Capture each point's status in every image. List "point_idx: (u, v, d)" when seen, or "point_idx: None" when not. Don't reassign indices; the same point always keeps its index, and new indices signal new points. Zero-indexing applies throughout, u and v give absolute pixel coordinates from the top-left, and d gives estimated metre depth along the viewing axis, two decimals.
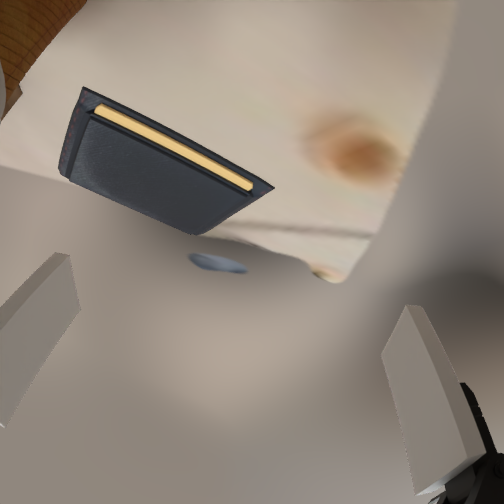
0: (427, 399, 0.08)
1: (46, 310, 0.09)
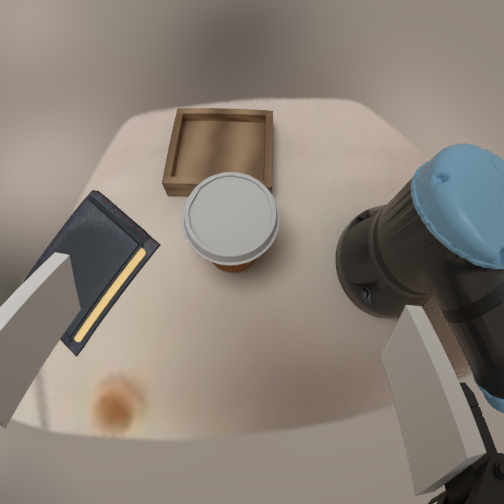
0: (427, 399, 0.08)
1: (46, 310, 0.09)
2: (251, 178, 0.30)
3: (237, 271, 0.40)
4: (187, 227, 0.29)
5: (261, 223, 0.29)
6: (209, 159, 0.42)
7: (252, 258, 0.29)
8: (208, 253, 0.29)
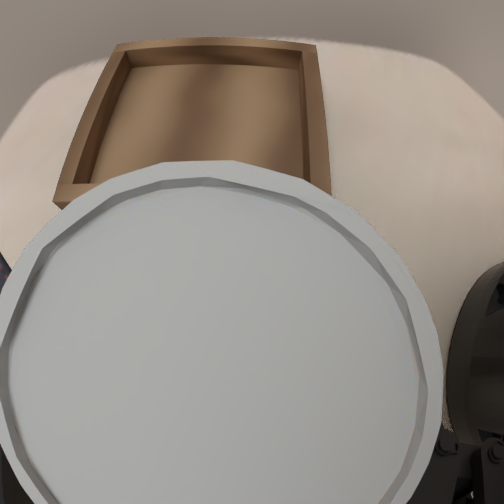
0: None
1: None
2: (317, 198, 0.05)
3: None
4: (6, 451, 0.04)
5: (366, 456, 0.04)
6: (170, 140, 0.17)
7: None
8: None
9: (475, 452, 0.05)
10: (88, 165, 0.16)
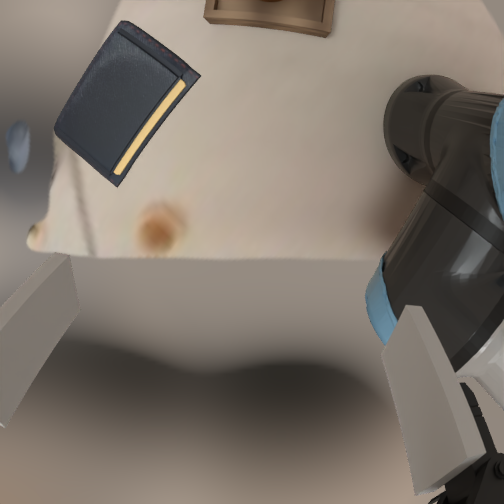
0: (427, 399, 0.08)
1: (46, 310, 0.09)
2: None
3: (273, 1, 0.27)
4: None
5: None
6: None
7: None
8: None
9: None
10: None
